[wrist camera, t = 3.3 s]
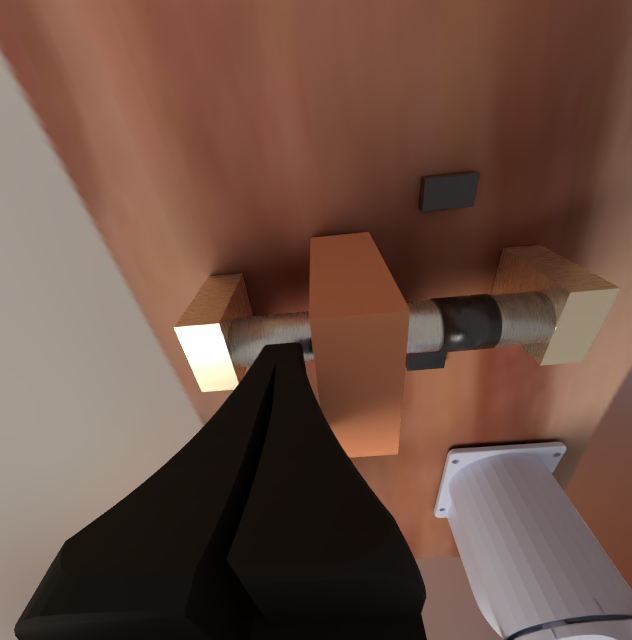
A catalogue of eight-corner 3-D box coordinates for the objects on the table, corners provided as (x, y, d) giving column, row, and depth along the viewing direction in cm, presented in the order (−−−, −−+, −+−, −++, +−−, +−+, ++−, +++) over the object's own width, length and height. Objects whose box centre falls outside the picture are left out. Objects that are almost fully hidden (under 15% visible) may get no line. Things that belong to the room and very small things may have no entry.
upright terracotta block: (369, 232, 13) (409, 310, 7) (368, 343, 16) (397, 453, 11) (310, 237, 13) (309, 319, 7) (322, 347, 16) (327, 458, 11)
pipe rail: (565, 161, 12) (679, 178, 8) (503, 356, 17) (555, 419, 13) (184, 202, 12) (132, 234, 9) (241, 377, 18) (223, 442, 14)
